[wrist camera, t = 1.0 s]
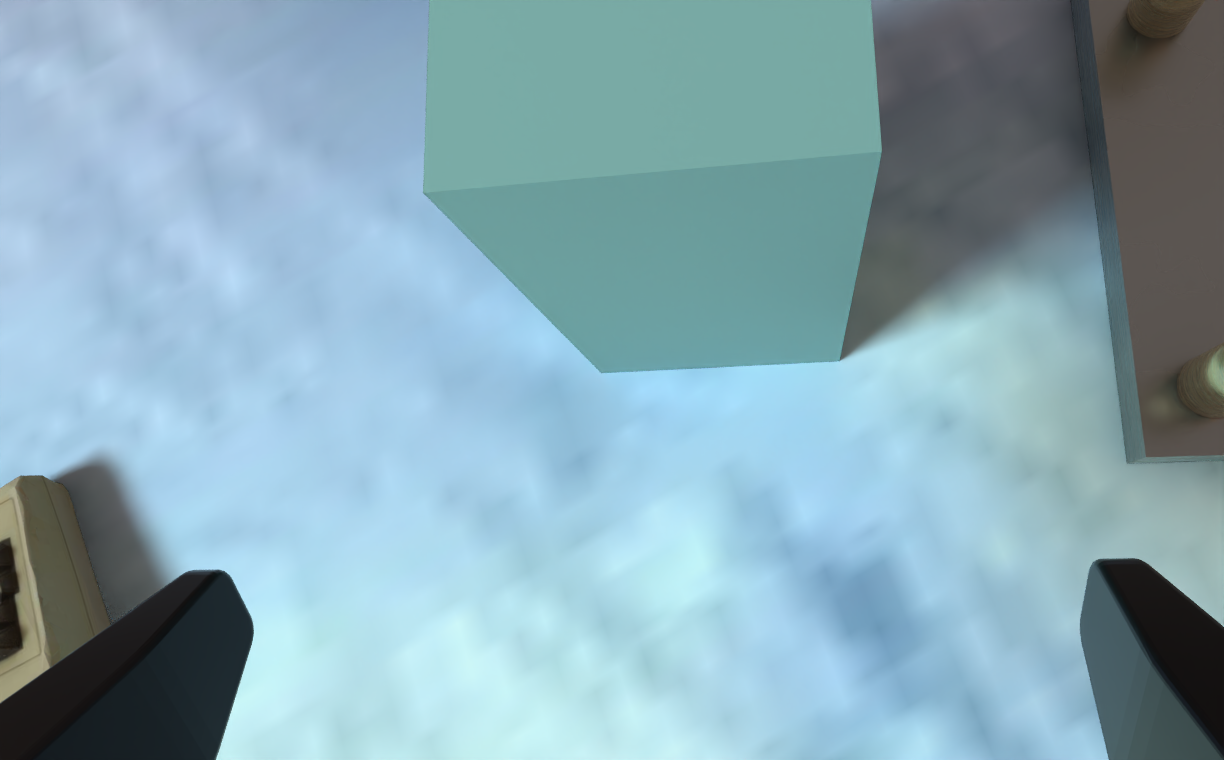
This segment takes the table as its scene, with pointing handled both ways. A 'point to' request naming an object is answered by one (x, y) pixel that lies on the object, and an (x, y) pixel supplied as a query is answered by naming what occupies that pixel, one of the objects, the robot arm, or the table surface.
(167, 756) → the robot arm
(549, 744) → the table surface
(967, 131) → the table surface
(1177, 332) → the plate
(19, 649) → the computer
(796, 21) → the teal block
